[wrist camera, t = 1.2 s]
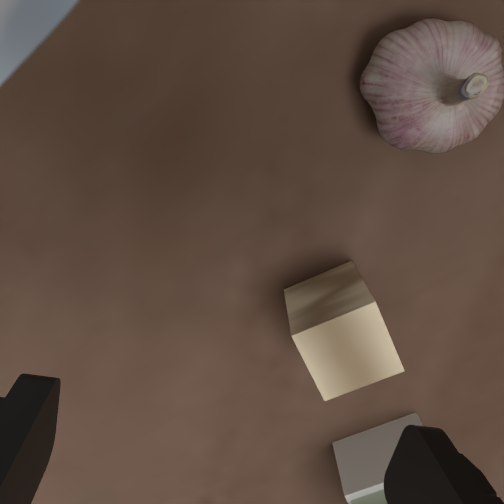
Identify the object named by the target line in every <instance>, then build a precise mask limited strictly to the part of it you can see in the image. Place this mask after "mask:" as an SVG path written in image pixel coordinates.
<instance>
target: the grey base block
mask: <svg viewBox="0 0 504 504" xmlns="http://www.w3.org/2000/svg"><path fill="white" fill-rule="evenodd" d="M408 425H418V426H423V424H422V422H421V420H420V418H419V416H418V414H417V412H415V413H412V414H410V415H407V416H404V417H401V418H399V419H396V420H393V421H390V422H388V423H385V424H382V425H379V426H377V427H374V428H371V429H368V430H366V431H363V432H360V433H357V434H355V435H352V436H349V437H346V438H344V439H341V440H338V441H335V442H333V443H332V444H333V449H334V453H335V457H336V462H337V466H338V471H339V475H340V479H341V484H342V488H343V492H344V496H345V498H346V500H347V502H348V504H352V503H351V500H353V499H356V498H359V497H362V496H365V495H368V494H371V493H374V492H377V491H379V490H382V489H384V476H385V472H386V469H387V467H388V465H389V462H390V460H391V458H392V455H393V453H394V450H395V448H396V446H397V443H398V441H399V439H400V436H401V434H402V432H403V430H404V428H405V427H406V426H408Z"/></svg>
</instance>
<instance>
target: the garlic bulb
mask: <svg viewBox="0 0 504 504" xmlns="http://www.w3.org/2000/svg"><path fill="white" fill-rule="evenodd" d="M360 90H361V94H362V96H363V97H364V99H365V100H367V101H368V103H369V104H370V106H371V108H372V110H373V112H374V114H375V116H376V121H377V129H378V131H379V133H380V134H381V136H382V138H383V139H384V140H385V141H386V142H387V143H389V144H390V145H392V146H394V147H396V148H398V149H405V150H407V149H418V150H423V151H425V152H428V153H443V152H447V151H449V150H451V149H453V148H454V147H456V146H458V145H463V144H466V143H468V142H470V141H472V140H473V139H475V138H476V137H477V136H478V135H480V133H481V132H482V130H483V129H484V127H485V126H486V125H487V124H488V123H489V122H490V121H491V120H492V119H493V118H494V117H495V116H496V114H497V113H498V112H499V110H500V108H501V106H502V103H503V99H504V69H503V65H502V48H501V45H500V43H499V42H498V41H497V39H496V38H495V37H494V36H492V35H490V34H487V33H484V32H482V31H481V30H480V29H479V28H478V27H477V26H476V25H474V24H472V23H471V22H467V21H463V20H457V21H449V22H448V21H444V20H440V19H435V18H428V19H424V20H420V21H418V22H416V23H414V24H413V25H411V26H409V27H407V28H404V29H400V30H395V31H392V32H390V33H389V34H387V35H386V36H385V37H383V38H382V39H381V40H380V41H379V43H378V44H377V46H376V47H375V49H374V51H373V53H372V56H371V59H370V61H369V64H368V65H367V67H366V68H365V69H364V71H363V72H362V75H361V79H360Z"/></svg>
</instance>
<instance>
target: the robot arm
mask: <svg viewBox="0 0 504 504" xmlns="http://www.w3.org/2000/svg"><path fill="white" fill-rule="evenodd" d="M59 394H60V379H59V378H54V377H46V376H39V375H31V374H21V375H20V376H19V377H18V379H17V380H16V382H15V383H14V385H13V386H12V388H11V389H10V391H9V393H8V394H7V396H6V397H5V398H4V397H0V504H31V502H32V500H33V498H34V495H35V493H36V491H37V488H38V486H39V484H40V481H41V479H42V477H43V474H44V472H45V470H46V467H47V465H48V462H49V459H50V456H51V452H52V449H53V444H54V440H55V433H56V423H57V414H58V404H59ZM384 494H385V498H386V501H387V504H504V503H503V502H502V500H501V499H500V497H497V496H496V492H495V490H494V489H493V487H492V486H491V485H490V483H489V482H488V480H487V479H486V477H485V476H484V475H483V473H482V472H481V471H480V470H479V469H478V468H477V467H476V466H475V465H473V464H472V463H471V462H470V461H469V460H468V459H467V458H466V457H465V456H464V455H463V454H460V453H459V452H458V451H457V449H456V448H455V446H454V445H453V443H452V442H451V441H450V439H449V438H448V436H447V435H446V433H445V432H444V431H443V430H441V429H439V428H433V427H425V426H418V425H408V426H406V427H405V428H404V430H403V432H402V434H401V436H400V439H399V441H398V443H397V446H396V448H395V450H394V453H393V455H392V458H391V460H390V462H389V465H388V467H387V469H386V472H385V476H384Z"/></svg>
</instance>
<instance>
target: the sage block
mask: <svg viewBox="0 0 504 504" xmlns="http://www.w3.org/2000/svg"><path fill="white" fill-rule="evenodd" d="M351 503H352V504H387V501H386V498H385V494H384V489H382V490H379V491H377V492H374V493H371V494H368V495H365V496H362V497H359V498H356V499H353V500H351Z"/></svg>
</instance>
